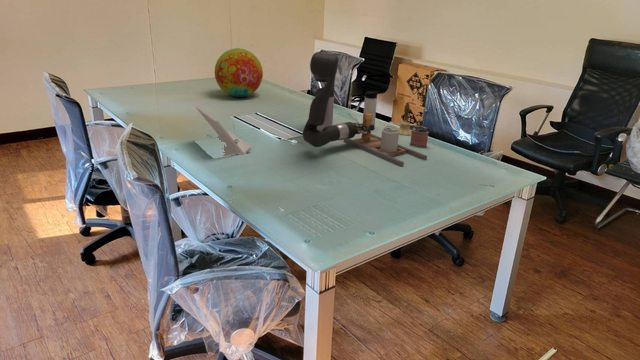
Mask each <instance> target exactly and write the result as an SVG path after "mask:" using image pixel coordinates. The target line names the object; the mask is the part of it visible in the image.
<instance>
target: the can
mask: <svg viewBox="0 0 640 360" xmlns="http://www.w3.org/2000/svg"><path fill="white" fill-rule="evenodd" d="M398 130H399V127H397V126H393V125H386V126H383V129H382V131H381V136H380V137H381V148H380V149H379V150H381V151H383V152H385V153H392V152H396V151H397V146H398V144H399V137H400V134H399V131H398Z"/></svg>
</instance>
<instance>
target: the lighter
mask: <svg viewBox="0 0 640 360" xmlns="http://www.w3.org/2000/svg"><path fill="white" fill-rule="evenodd" d="M427 129H428V128H427V127H426V126H423V125H420V126H419V125H414V124H413V127H412V129H410V130H411V132H412V134H411V135H410V143H409V146H410V147H415V148H422V149H423V148H424V149H425V148H427V147H428V145H427V144H428V138H429V133H430V132H429V131H428V130H427Z"/></svg>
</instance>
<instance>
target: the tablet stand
mask: <svg viewBox="0 0 640 360" xmlns="http://www.w3.org/2000/svg"><path fill="white" fill-rule="evenodd" d="M195 108H196V110H197V111H198V112H199V114H200V115H201V116H202V117H203V118H204V119H205V120H206V122H207V123H208V124H209V126H211V128H212V129H213V130H214V131H215V133H216V134H217V138H219V140H221V142H222V141H223V142H225V143H226V145H227V146H226V147H225V145H224V151H225V152H223V153H225V154H224V155H223V156H229V155H235V156H237V155H236V154H241V155H244V154H243V153H246V154H247V153H248V152H250V151H251V150H252V146H250V145H249V144H248V143H247V142H245V141H244V140H242V139H240V137H238V136H236V135H235V134H234V133H232V132H231V131H228V132H227V130H226V129H225V128H224V127H223V126H222V124H221V123H220V122H219V121H218V119H216V118H215V117H214V116H212V115H210V114H209V113H208V112H206V111H205V110H204V109H202V108H201V107H199V106H195ZM237 141H238V142H237ZM236 142H237V143H236ZM222 149H223V148H222ZM229 157H230V156H229Z"/></svg>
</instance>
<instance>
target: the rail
mask: <svg viewBox="0 0 640 360" xmlns="http://www.w3.org/2000/svg"><path fill="white" fill-rule="evenodd" d="M371 136H372V137H375V138H377V139H380V140H381V137H382V136H378V135H376V134H373V133H371ZM343 143H347V144H348V145H351V146H353V147H355V148H357V149H360V150H362V151H363V152H367V153H369V154H371V155H373V156H376V157H377V158H380V159H382V160H385V161H387V162H389V163H392V164H394V165H396V166H399V167H404V165H405V162H404V161H403V160H401V159H397V158H396V157H391V156H389V155H386V154H384V153H382V152H379V151H377V150H375V149H372V148H370V147H368V146H365V145H363V144H361V143H358V142H356V141H354V139H352V138H350V139H345V140H343ZM397 147H400V148H402V149H405V150H407V152H406V154H408V155H410V156H413V157H415V158H418V159H420V160H423V161H427V160H428V155H426V154H424V153H421V152H418V151H416V150H413V149H412V148H409V147H406V146H403V145H401V144H399V143H398V146H397Z"/></svg>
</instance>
